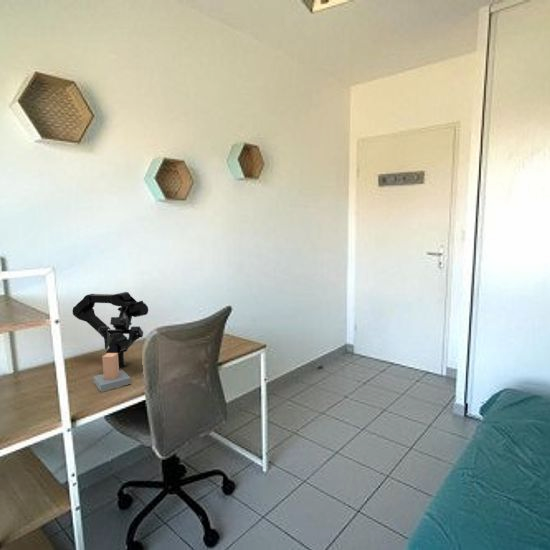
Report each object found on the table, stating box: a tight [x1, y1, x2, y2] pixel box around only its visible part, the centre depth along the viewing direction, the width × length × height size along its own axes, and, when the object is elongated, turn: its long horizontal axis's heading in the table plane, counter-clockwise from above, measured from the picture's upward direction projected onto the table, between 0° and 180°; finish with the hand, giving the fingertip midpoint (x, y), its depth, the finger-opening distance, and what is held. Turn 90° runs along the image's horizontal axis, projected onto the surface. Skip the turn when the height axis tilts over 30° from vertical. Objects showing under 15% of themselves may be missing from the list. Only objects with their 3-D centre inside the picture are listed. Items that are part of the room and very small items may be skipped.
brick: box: [101, 353, 120, 379], centre depth 165 cm, size 5×5×10 cm
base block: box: [93, 369, 132, 393], centre depth 166 cm, size 12×12×3 cm
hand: (116, 349), depth 170 cm, fingers open, 9 cm apart
